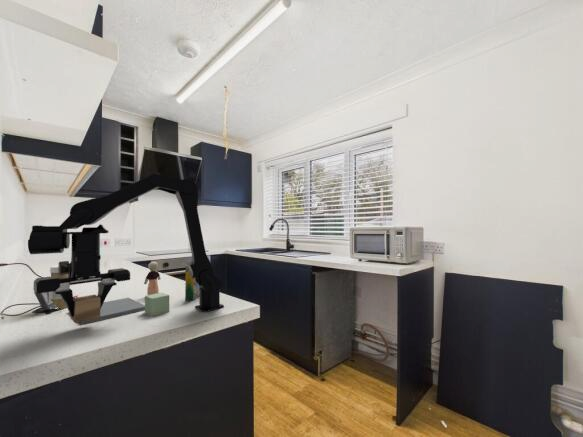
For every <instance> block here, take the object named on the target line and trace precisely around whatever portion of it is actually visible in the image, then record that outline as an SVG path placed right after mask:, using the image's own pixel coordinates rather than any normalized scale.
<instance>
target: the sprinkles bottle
mask: <svg viewBox="0 0 583 437" xmlns="http://www.w3.org/2000/svg"><path fill="white" fill-rule="evenodd" d="M58 266H59V264H58V265H52V266H50V267H49V268H50V269H49V272H50V277H51V276H57V277H59V279H62V278H68V274H64V275H59V271H58ZM49 293H50V294H49V295H50V296H49V298H50V302H51V301H52V302H53V303H54V304H55V305H56V306H57V307H58V308H60V309H59V310H62V309H66V308H67V306H66V304H65V301H64V300H63V298H62V297H61V295H60V294H55V293H54V292H53V291H52V292H49Z"/></svg>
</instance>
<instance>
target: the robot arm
mask: <svg viewBox="0 0 583 437" xmlns="http://www.w3.org/2000/svg"><path fill="white" fill-rule="evenodd" d="M154 190H160V191H162V192H165V193H169V194H172V195H174V196H176V199H177V201H178V203H179V206H180V209H182V214H183V218H184V222H185V223H184V224H185V226H186V227H185V228H186V232H187V236H188V237H187V238H188V242H189V247H190V252H191V262H186V265H187V266H188V269H189V276H191V277H192V278H193V280H195V281H196V282H197V283H198V285H199V286H200V287H199V296H198V297H199V299H198V300H199V301H198V302H199V303H198V305H195V306H194V308H195V309H197V310H200V311H201V312H210V311H214V310H217V309H220V308H224V307H225V305H224V304H222V303H220V302H221V300H220V297H221V296H220V292H221V291H220V290H221V288H222V285H223V282H222V281H221V280H220V279H219V278H218V277H217V276H216V275H215V271H214V268H213V265H212V263H211V261H210V259H209V257H208V255H207V252H206V247H205V243H204V238H203V232H202V228H201V222H200V217H199V211H198V203H199V187H198V184H197V182H196V181H194V180H193V179H191V178H184V179H182V178H181V179H180V178H177V177H171V176H168V175H163V174H160V173H156V172H153V173H151V174H150V175H148V176H146V177H144V178H141V179H140V180H137V181H135V182H133V183H131V184H128V185H126V186H124V187H122V188H120V189H118V190H116V191H113V192H112V193H109V194H107V195H103V196H98V197H94V198H91V199H87V200H83V201H80V202H76V203H75V204H73V206H71V208H70V211H69V216H68V217H67V218H66V219H64V221H63V222H62V223H61V224H60V225H57V226H56V225H52V226H51V225H48V226H47V225H32V227H31V232H30V234H29V238H28V239H27V248H28V252H29V254H30V255H45V254H63V253H64V251H65V249H66V250H67V249H69V248H70V243H71V256H70V259H71V260H70V262H69V260H63V261H59V262H58V265H59V266H58V265H57V266H58V271H59V275H64V274H68V278H62V279H59V277H57V276H51V275H50V276H45V277H37V278H36V279H34V281H33V291H34V292H35V294H45V293H50V292H52V291H53V292H54V293H55V294H60V295H61V297H62V298H63V300H64V301H65V304H66V306H67V307H66V308H67V310H68V313H69V315H70V318H71V317H73V316H74V304H73V298H74V293H73V289H71V286H73V285H74V286H75V285H81V284H87V283H94V282H95V283H96V282H97V288H98V289H97V296H99V297H100V309H101V307H102V305H103V303H104V302H106V299H107V296H108V294H109V293H110V292H111V290H112V288H113V287H114V286H117V284H118V283H120V282H125V281H130V280H131V271H130V270H129V269H126V268H123V267H121V268H120V267H119V268H113V269H108V270H107V272H106V273H105V272H104V273H101V272H102V271H101V269H100V267H101V264H100V263H101V258H102V257H101V250H100V248H101V234H109V233H110V232H109V231H110V230H108V229H106V228H105V227H104V226H103V224H101V223H100V224H99V225H98V226H95V227H94V226H93V227H90V226H92V225H95V224H96V223H98V222H99V221H101V220H103V218H105V217H107V216H108V215H109V214H110V213H112V212H113V211H114V210H115V209H117V208H119V207H121V206H123V205H125V204H127V203H130V202H131V201H133V200H136V199H138V198H139V197H142V196H143V195H146V194H147V193H150V192H152V191H154ZM82 226H84V227H82ZM85 226H88V227H85ZM81 227H82V228H81ZM79 228H81V231H68V230H77V229H79ZM70 236H71V239H70ZM117 282H118V283H117Z"/></svg>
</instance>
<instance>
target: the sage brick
mask: <svg viewBox="0 0 583 437" xmlns="http://www.w3.org/2000/svg"><path fill="white" fill-rule="evenodd" d="M144 305H145V310H144V313H145V314H147V315H149V316H151V317H154V316H157V315H160V314H161V315H162V314H165V313H170V294H167V293H165V292H159V293H157V294H152V295H144Z"/></svg>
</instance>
